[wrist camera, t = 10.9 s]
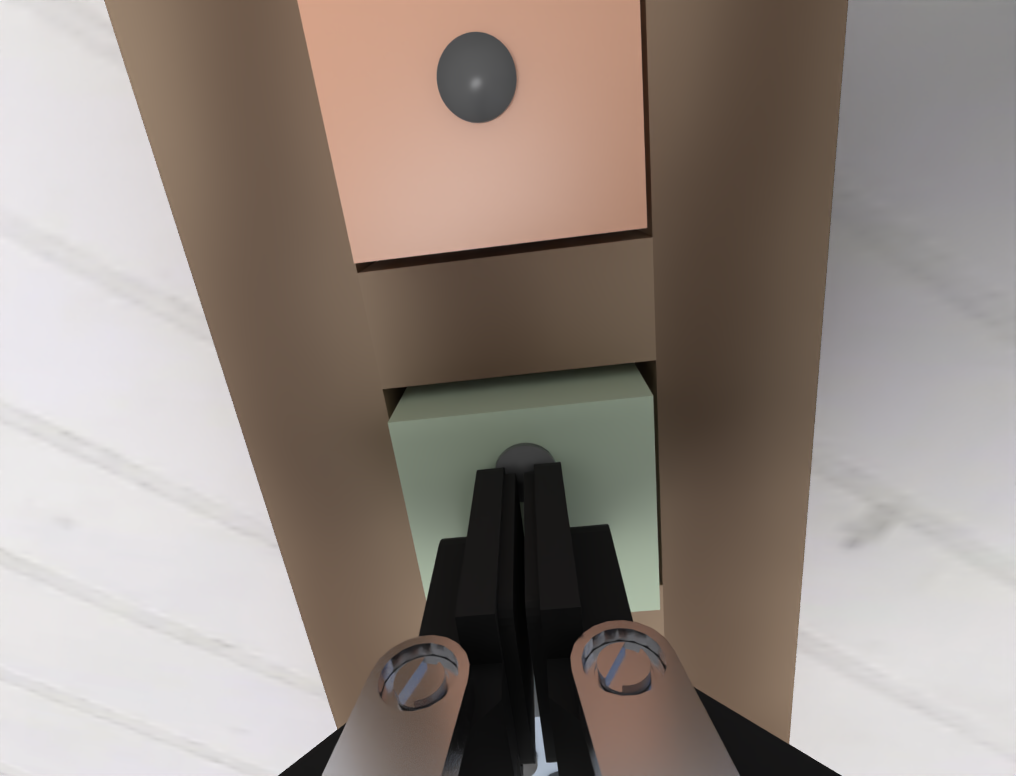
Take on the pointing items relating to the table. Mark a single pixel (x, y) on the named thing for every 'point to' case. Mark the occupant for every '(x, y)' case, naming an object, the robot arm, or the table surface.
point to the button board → (521, 316)
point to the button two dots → (536, 457)
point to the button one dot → (480, 120)
